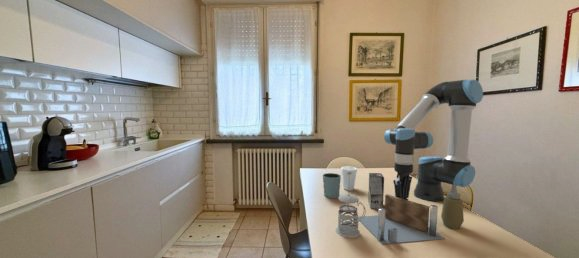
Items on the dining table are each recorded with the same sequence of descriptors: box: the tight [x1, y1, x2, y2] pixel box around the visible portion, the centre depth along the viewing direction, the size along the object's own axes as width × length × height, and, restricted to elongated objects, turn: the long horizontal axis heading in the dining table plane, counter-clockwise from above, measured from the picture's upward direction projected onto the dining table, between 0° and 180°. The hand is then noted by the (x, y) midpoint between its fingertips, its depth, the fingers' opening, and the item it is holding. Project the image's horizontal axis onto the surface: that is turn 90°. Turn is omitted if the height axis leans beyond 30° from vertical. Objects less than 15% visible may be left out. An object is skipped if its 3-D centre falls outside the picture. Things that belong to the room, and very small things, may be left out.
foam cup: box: [340, 165, 358, 191], centre depth 154 cm, size 10×9×13 cm
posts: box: [376, 204, 439, 243], centre depth 94 cm, size 24×4×12 cm, turn 99°
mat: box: [358, 214, 446, 245], centre depth 104 cm, size 26×23×1 cm
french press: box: [335, 171, 367, 239], centre depth 99 cm, size 10×12×25 cm
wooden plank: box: [384, 193, 431, 232], centre depth 105 cm, size 18×2×10 cm, turn 39°
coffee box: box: [368, 172, 385, 210], centre depth 127 cm, size 9×6×16 cm
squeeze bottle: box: [440, 185, 465, 230], centre depth 104 cm, size 8×8×18 cm
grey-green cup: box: [322, 172, 342, 199], centre depth 141 cm, size 10×10×12 cm
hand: (401, 214), depth 111 cm, fingers closed
